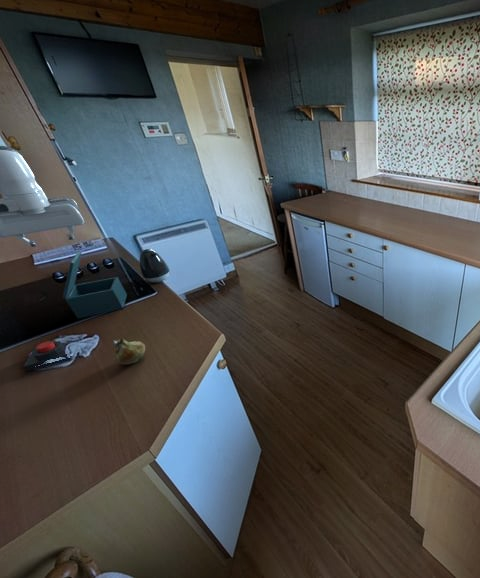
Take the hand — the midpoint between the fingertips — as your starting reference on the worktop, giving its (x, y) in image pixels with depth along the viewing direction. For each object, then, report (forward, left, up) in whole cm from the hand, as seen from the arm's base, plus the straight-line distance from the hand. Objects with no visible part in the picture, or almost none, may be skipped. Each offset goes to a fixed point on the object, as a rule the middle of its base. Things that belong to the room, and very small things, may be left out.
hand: (53, 242), depth 99 cm
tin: (+2, +3, -29) cm, 29 cm away
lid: (-1, +3, -13) cm, 14 cm away
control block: (-6, -26, -29) cm, 39 cm away
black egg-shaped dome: (+20, +17, -29) cm, 39 cm away
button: (-6, -26, -25) cm, 37 cm away
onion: (+16, -40, -29) cm, 52 cm away
